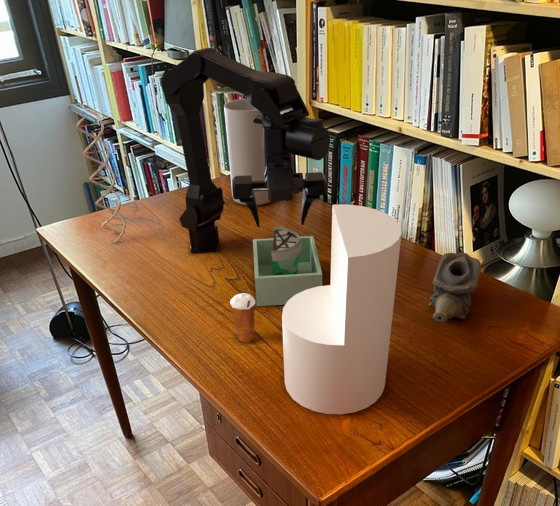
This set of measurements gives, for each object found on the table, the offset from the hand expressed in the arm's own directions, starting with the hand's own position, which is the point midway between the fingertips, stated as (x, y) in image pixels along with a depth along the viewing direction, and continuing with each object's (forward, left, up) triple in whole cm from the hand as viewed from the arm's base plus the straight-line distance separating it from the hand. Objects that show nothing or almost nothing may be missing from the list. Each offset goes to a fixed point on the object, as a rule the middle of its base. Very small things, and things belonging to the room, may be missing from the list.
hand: (280, 225), depth 118 cm
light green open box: (+1, -3, -12) cm, 13 cm away
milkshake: (-8, -23, -12) cm, 27 cm away
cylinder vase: (-5, +46, -12) cm, 48 cm away
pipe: (+32, -21, -12) cm, 40 cm away
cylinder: (+7, -37, -12) cm, 40 cm away
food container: (+1, -3, -12) cm, 12 cm away
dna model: (-41, +25, -12) cm, 50 cm away
